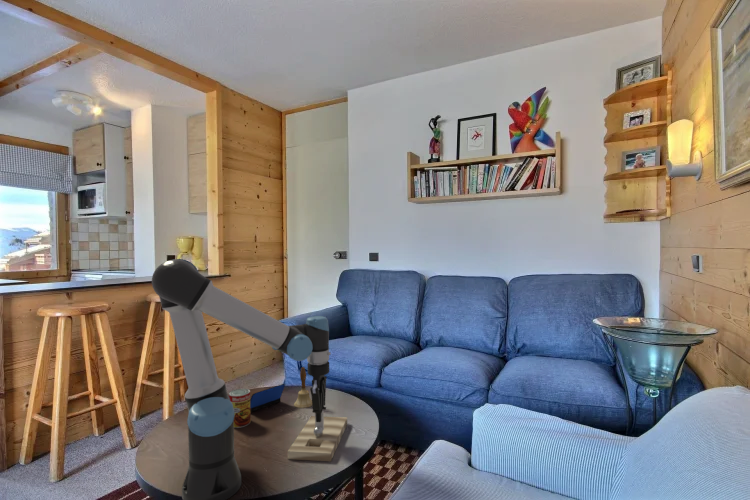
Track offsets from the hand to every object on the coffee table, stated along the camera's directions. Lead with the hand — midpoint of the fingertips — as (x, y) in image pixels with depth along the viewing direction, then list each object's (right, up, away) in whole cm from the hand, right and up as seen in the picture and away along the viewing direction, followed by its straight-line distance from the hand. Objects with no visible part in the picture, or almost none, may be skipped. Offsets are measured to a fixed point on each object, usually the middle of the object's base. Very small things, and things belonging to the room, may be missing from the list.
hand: (319, 429), depth 133 cm
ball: (0, 0, -2) cm, 2 cm away
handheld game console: (-29, -5, +31) cm, 43 cm away
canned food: (-33, -5, +15) cm, 36 cm away
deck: (0, -4, 0) cm, 4 cm away
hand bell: (-12, -4, +32) cm, 34 cm away
